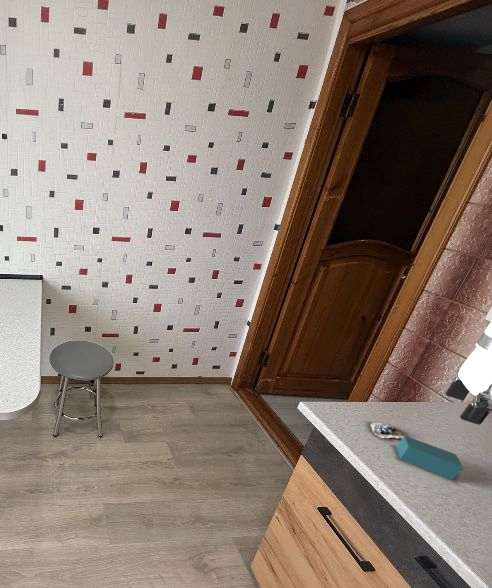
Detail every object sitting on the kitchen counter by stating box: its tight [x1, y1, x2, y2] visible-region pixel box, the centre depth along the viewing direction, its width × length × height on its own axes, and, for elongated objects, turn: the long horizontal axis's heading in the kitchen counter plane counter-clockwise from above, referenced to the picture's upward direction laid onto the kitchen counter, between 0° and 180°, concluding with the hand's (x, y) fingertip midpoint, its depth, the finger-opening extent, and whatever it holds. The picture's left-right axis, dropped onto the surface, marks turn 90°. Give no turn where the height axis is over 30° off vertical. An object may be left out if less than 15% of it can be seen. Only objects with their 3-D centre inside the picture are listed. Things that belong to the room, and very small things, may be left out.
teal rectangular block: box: [395, 434, 463, 481], centre depth 83 cm, size 10×4×4 cm, turn 58°
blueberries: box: [370, 421, 404, 440], centre depth 93 cm, size 7×8×2 cm
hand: (461, 408), depth 78 cm, fingers open, 9 cm apart
